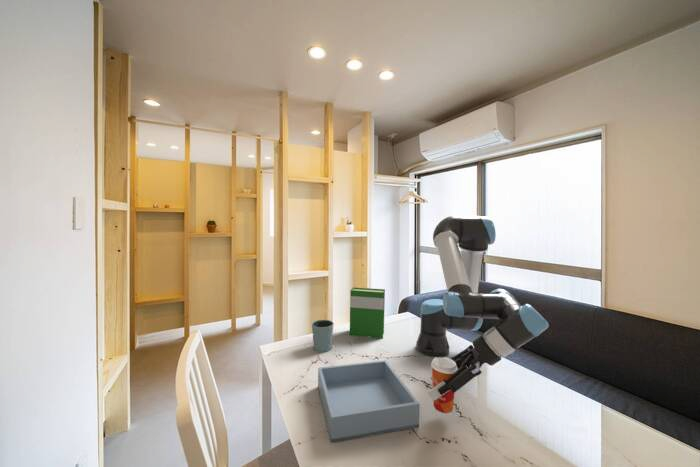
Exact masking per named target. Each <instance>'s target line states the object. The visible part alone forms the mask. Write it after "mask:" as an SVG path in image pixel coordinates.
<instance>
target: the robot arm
mask: <svg viewBox="0 0 700 467" xmlns="http://www.w3.org/2000/svg"><path fill="white" fill-rule="evenodd" d="M496 236H497V235H496V226H495V224H494V221H493V220H492V219H491V218H490V217H488V216H483V215H482V216H480V215H451V216H447V217H445V218H443V219H442V220H440V221H439V223H437V225H436V226H435V228H434V231H433V234H432V239H433V240H432V241H433V244H434V246H435V248H437V251H438V254H439V255H438V256H439V260H440V264H441V270H442V273H443V278H444V281H445V286H446V290H447V291H445V292H444V293H443V295H442V296H443V297H442V299H440V298H431V299H426V300H424V301H423V302H422V303H421V306H420V332H419V334H418V337H417V340H416V345H415V346H416V350H417V351H418V352H420V353H421V354H423V355H426V356H429V357H434V358H436V357H437V358H438V357H442V358H443V357H446V356H448V355H449V354H450V344H449V342H448V337H447V330H456V331H466V332H469V331H478V330H479V329H481V326H482V325H483V321H484V319H494V320H495V319H496V320H499V321H500V322H498V323H497V324H495V325H494V326H491V328H489V329H488V330H487V331H485V332H484V333H483V335H480V336H479V337H477V338H476V339H474V340H473V341H472V344H470V345H469V346H467V347H466V348H465V349H463V350H462V351H460V352H459V353H457V354H455V355H454V356H452V357H451V358H450V359H452V360H453V361H454V362H455V363H456V365H457V368H458V370H457V371H456V372H455V373H454V374H453V375H452V376H451V377H450V378H449V379H448V380H447V381H446V380H445V379H444V380H443V381H442V382H441V383H439V384H438V385H436V386H435V387H434V388H433V387H431V389H430V390H427V394H428V396H429V397H430V398H431V399H432V401H433V400H434V401H435V400H436V399H438V398H439V397H441V396H442V395H444V394H445V393H447V392H448V391H450V390H451V391H452V392H453V393H454V394H455V393H456V392H457V391H459V390H460V389H462V388H463V387H464V386H465V385H467V384H468V383H469V382H471V381H472V380H473V379H474V378H476V377H477V376H480V375H481V374H482V371H481V369H480V368H481V367H482V366H483V365H484V364H487V365H489V366H491V367H492V366H494V365H496V364H497V363H499V362H500V361H501V360H502V358H505V357H507V356H508V355H510V354H511V355H512V354H514V353H515V351H516V350H517V349H519V348H522V346H524V345H525V344H527V343H529V342H530V341H531V340H533V339H535V338H536V337H538V336H540V335H541V334H542V333H544V331H546V330H547V329H548V328H549V322H548V321H547V320H546V319H545V318H544V317H543V316H542V315H541V314H540V313H539V312H538V311H537V310H536V308H534V307H533V306H532V304H529V303H525V304H523V305H522V304H520V302H519V301H518V300H517V299H516V297H515V296H514V295H513V294H511V293H510V292H509V291H508V290H506V289H503V288H496V289H494V290H491V291H490V292H489V293H482V292H481V293H480V292H479V285H480V284H479V283H480V278H481V270H482V263H483V256H484V253H485V252H486V251H488V249H489V245H490V246H491V245H493V244H494V243H495V241H496ZM460 250H461V252H460ZM429 379H430V380H431V381H432V382H433V379H432V375H430V376H429Z"/></svg>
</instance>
